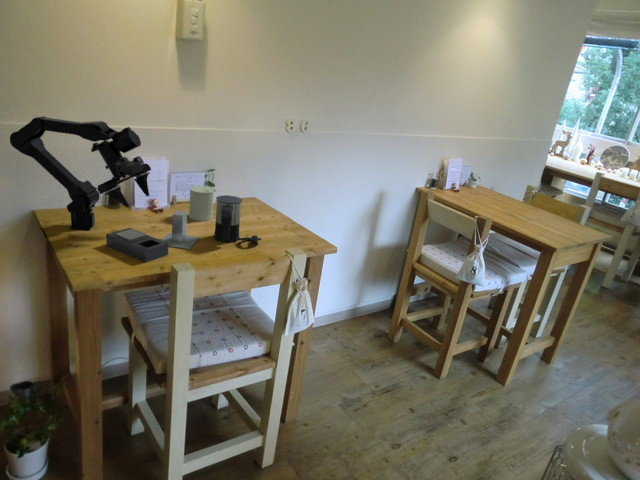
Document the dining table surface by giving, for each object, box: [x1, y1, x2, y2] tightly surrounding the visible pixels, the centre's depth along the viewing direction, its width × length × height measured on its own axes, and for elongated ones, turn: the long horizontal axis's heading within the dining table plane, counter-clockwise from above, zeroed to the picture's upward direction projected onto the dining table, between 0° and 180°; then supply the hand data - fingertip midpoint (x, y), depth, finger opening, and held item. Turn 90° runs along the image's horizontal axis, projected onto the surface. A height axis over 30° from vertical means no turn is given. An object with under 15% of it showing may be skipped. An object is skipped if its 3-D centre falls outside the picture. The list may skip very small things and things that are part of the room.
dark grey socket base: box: [105, 227, 169, 264], centre depth 155 cm, size 18×9×5 cm, turn 59°
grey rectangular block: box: [171, 209, 188, 243], centre depth 165 cm, size 4×4×10 cm
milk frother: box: [213, 194, 262, 243], centre depth 173 cm, size 14×16×15 cm
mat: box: [160, 232, 200, 250], centre depth 167 cm, size 11×11×1 cm
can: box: [188, 185, 215, 222], centre depth 191 cm, size 9×9×12 cm
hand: (138, 201), depth 163 cm, fingers open, 9 cm apart
